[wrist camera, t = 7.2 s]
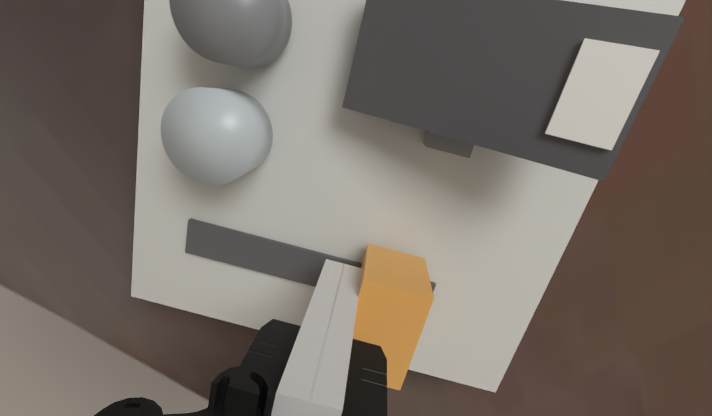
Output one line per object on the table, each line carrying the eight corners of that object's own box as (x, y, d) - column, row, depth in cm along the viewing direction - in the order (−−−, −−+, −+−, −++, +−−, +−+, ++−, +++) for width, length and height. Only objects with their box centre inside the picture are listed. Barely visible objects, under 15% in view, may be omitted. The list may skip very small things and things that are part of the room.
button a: (198, 56, 13) (165, 49, 11) (208, -45, 12) (172, -72, 10) (283, 78, 13) (265, 75, 11) (300, -20, 12) (283, -44, 10)
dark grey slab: (356, 109, 13) (339, 106, 12) (385, -11, 12) (369, -29, 10) (594, 176, 10) (605, 182, 9) (665, 30, 9) (688, 14, 8)
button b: (188, 161, 14) (157, 171, 12) (196, 79, 13) (163, 75, 11) (265, 182, 14) (247, 195, 12) (279, 100, 13) (260, 101, 11)
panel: (168, 267, 19) (113, 309, 16) (200, -124, 14) (127, -211, 10) (479, 349, 19) (502, 412, 16) (638, -11, 14) (737, -54, 10)
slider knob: (345, 323, 16) (336, 373, 13) (367, 243, 14) (363, 279, 11) (397, 336, 15) (400, 390, 13) (424, 258, 14) (434, 298, 11)
